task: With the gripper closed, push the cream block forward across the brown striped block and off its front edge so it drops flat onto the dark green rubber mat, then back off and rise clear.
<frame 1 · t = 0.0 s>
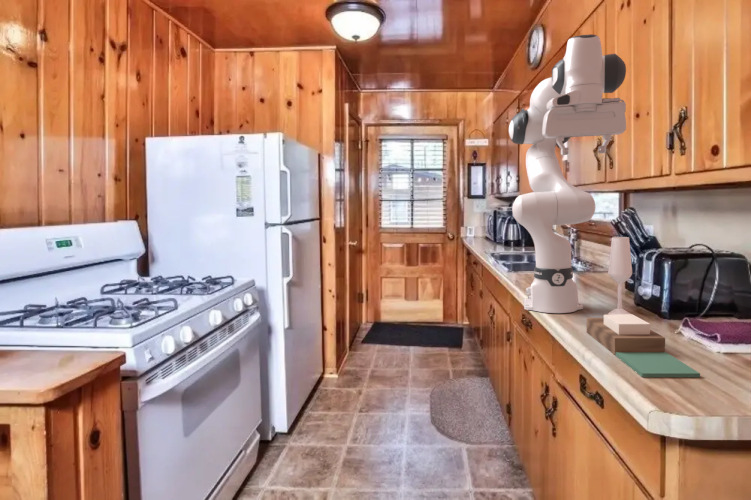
hand: (583, 153, 126), 48 cm above the countertop, tool pointing down, fingers open, 8 cm apart
champagne flute: (619, 314, 151), on the countertop
brown striped block: (622, 342, 121), on the countertop
mat: (654, 365, 104), on the countertop
cream block: (625, 329, 119), point 4 cm above the countertop, touching brown striped block
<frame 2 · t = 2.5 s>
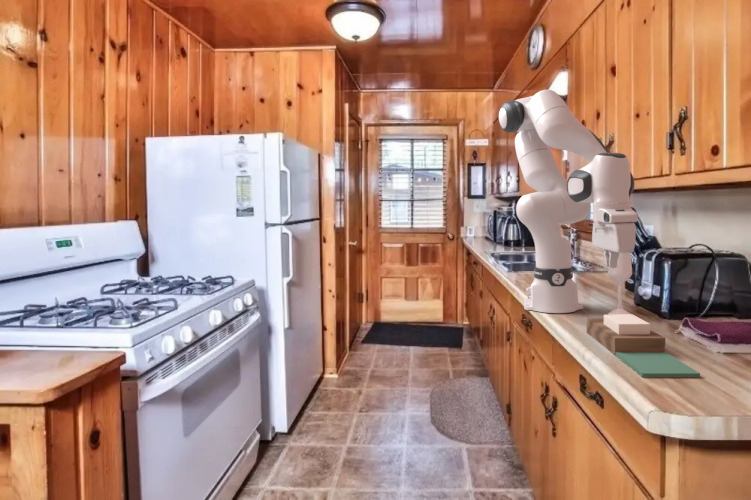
hand: (611, 267, 127), 18 cm above the countertop, tool pointing down, fingers closed
nothing on the countertop moved.
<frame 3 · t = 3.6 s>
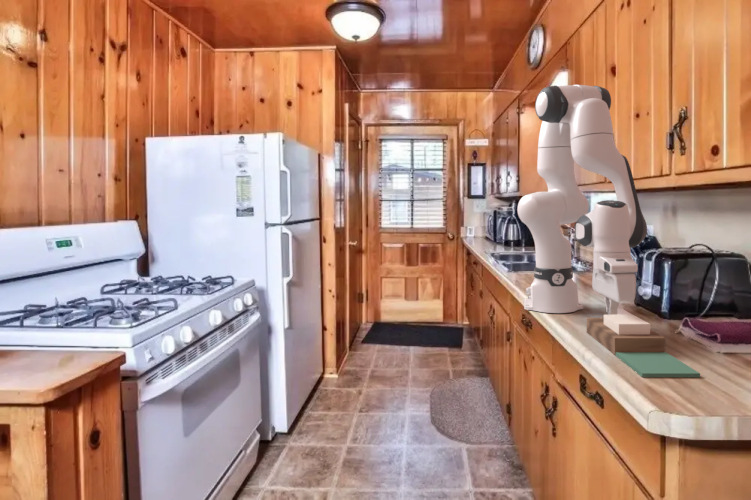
hand: (611, 313, 128), 6 cm above the countertop, tool pointing down, fingers closed
nothing on the countertop moved.
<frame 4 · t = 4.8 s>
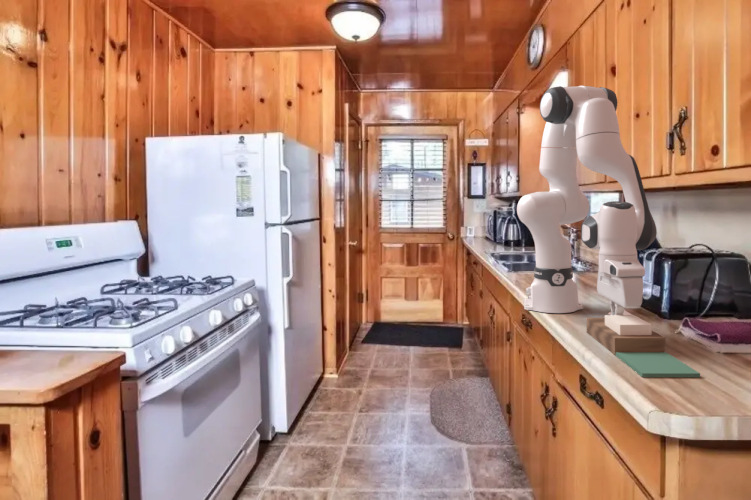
hand: (617, 318, 125), 5 cm above the countertop, tool pointing down, fingers closed
cream block: (627, 329, 118), point 4 cm above the countertop
everything else where it was.
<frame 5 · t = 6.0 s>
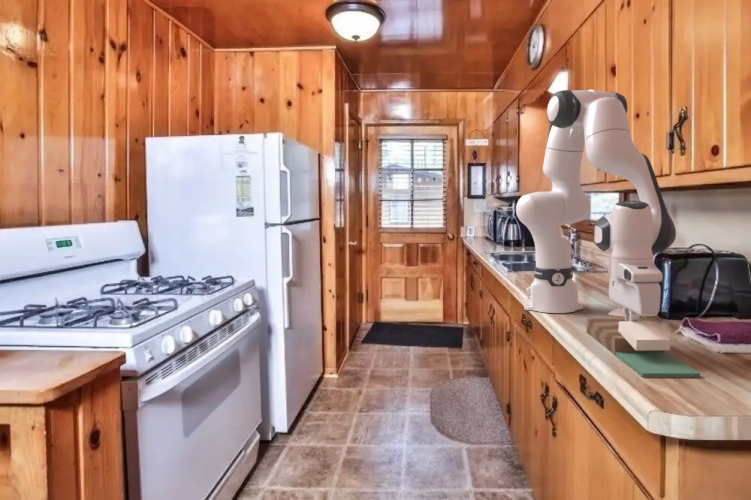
hand: (631, 326, 116), 5 cm above the countertop, tool pointing down, fingers closed
cream block: (642, 340, 110), point 4 cm above the countertop, tilted 10°, touching brown striped block, gripper
everything else where it was.
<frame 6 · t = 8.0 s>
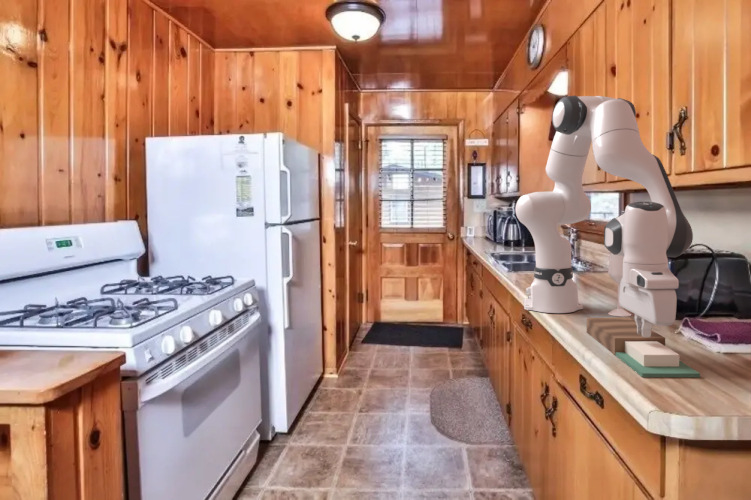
hand: (643, 335, 109), 5 cm above the countertop, tool pointing down, fingers closed
cream block: (650, 358, 106), point 1 cm above the countertop, touching mat
everything else where it was.
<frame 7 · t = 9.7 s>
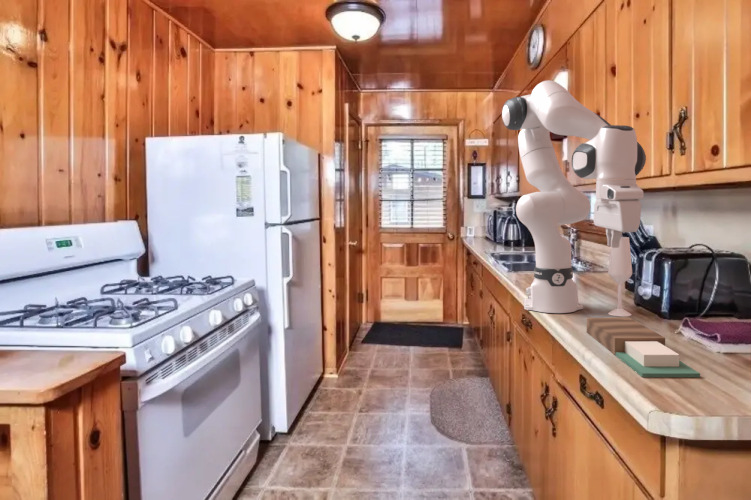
hand: (613, 247, 121), 24 cm above the countertop, tool pointing down, fingers closed
nothing on the countertop moved.
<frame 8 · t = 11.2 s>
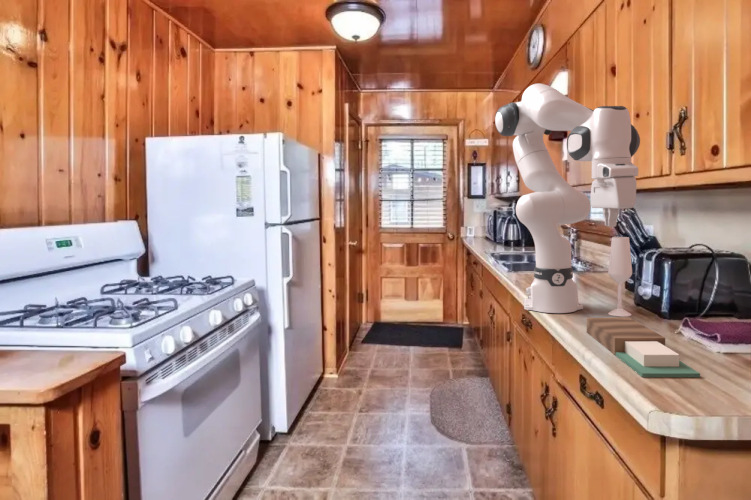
hand: (610, 226, 122), 29 cm above the countertop, tool pointing down, fingers closed
nothing on the countertop moved.
at the end: cream block inside the target area (2.2 cm from its centre), point 0.8 cm above the countertop; cream block tilted 0° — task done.
